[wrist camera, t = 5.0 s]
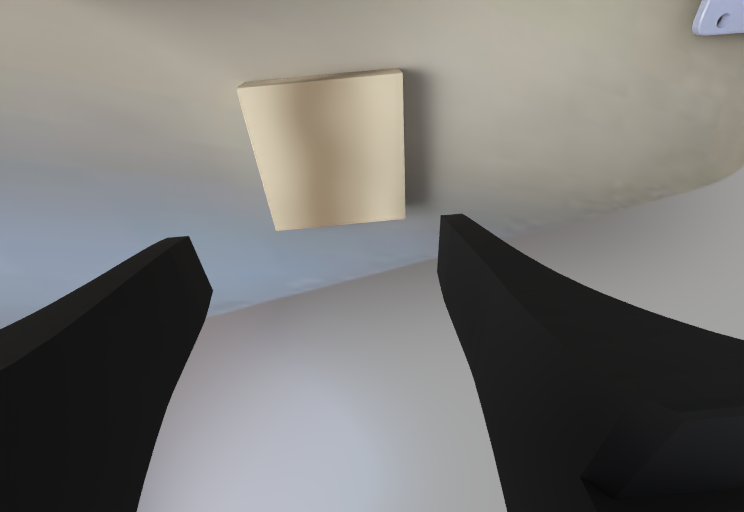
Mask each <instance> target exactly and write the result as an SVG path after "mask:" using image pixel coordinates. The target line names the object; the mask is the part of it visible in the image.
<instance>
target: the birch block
mask: <svg viewBox="0 0 744 512" xmlns="http://www.w3.org/2000/svg"><path fill="white" fill-rule="evenodd" d="M236 90H237V94H238V97H239V101H240V104H241V108H242V112H243V115H244V119H245V122H246V126H247V129H248V133H249V136H250V140H251V144H252V147H253V151H254V154H255V158H256V161H257V165H258V169H259V172H260V176H261V179H262V183H263V186H264V190H265V193H266V197H267V201H268V204H269V208H270V211H271V215H272V218H273V222H274V225H275V229H276V231H280V230H291V229H301V228H312V227H322V226H333V225H344V224H354V223H365V222H375V221H386V220H397V219H405V170H404V118H403V73H402V72H401V71H400V69H399V68H393V69H382V70H371V71H360V72H349V73H339V74H328V75H317V76H306V77H295V78H284V79H274V80H263V81H252V82H245V83H243V84H242V85H240V86H239V87H237V88H236Z"/></svg>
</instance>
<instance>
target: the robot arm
mask: <svg viewBox="0 0 744 512" xmlns="http://www.w3.org/2000/svg"><path fill="white" fill-rule="evenodd" d="M721 16H722V20H721V22H720V23H719V24H718V25H717V21H718V19H719V18H720V17H721ZM692 32H693V33H694V34H695V35H702V36H707V35H720V34H733V33H744V0H702V2H701V4H700V7H699V9H698V11H697V14H696V16H695V19H694V21H693V25H692ZM437 273H438V278H439V282H440V286H441V290H442V294H443V298H444V302H445V304H446V307H447V310H448V312H449V315H450V318H451V320H452V323H453V325H454V328H455V330H456V333H457V335H458V338H459V341H460V343H461V346H462V348H463V351H464V353H465V356H466V358H467V361H468V364H469V366H470V369H471V372H472V375H473V378H474V381H475V385H476V388H477V392H478V395H479V399H480V403H481V407H482V410H483V414H484V418H485V422H486V426H487V429H488V433H489V437H490V441H491V445H492V448H493V452H494V457H495V461H496V465H497V470H498V474H499V478H500V482H501V486H502V491H503V495H504V499H505V504H506V508H507V512H744V340H741V339H737V338H733V337H730V336H726V335H722V334H719V333H715V332H712V331H708V330H705V329H702V328H699V327H695V326H692V325H689V324H686V323H683V322H680V321H677V320H674V319H671V318H667V317H664V316H662V315H659V314H656V313H653V312H650V311H647V310H644V309H642V308H639V307H636V306H634V305H631V304H628V303H626V302H623V301H621V300H618V299H616V298H613V297H611V296H608V295H605V294H603V293H600V292H598V291H596V290H593V289H591V288H589V287H587V286H584V285H582V284H580V283H578V282H576V281H574V280H572V279H570V278H568V277H565V276H563V275H561V274H559V273H557V272H555V271H553V270H552V269H549V268H548V267H546V266H544V265H542V264H540V263H539V262H537V261H535V260H534V259H532V258H530V257H528V256H527V255H524V254H523V253H522V252H520V251H518V250H517V249H515V248H513V247H512V246H510V245H509V244H507V243H505V242H504V241H503V240H501V239H500V238H498V237H497V236H495V235H494V234H492V233H491V232H489V231H488V230H486V229H485V228H483V227H482V226H480V225H479V224H477V223H476V222H474V221H473V220H471V219H470V218H468V217H467V216H465V215H463V214H453V215H441V220H440V236H439V251H438V268H437ZM212 292H213V290H212V287H211V285H210V283H209V281H208V278H207V276H206V274H205V272H204V269H203V267H202V265H201V263H200V260H199V258H198V256H197V254H196V251H195V249H194V247H193V245H192V242H191V240H190V238H189V236H184V237H172V238H166V239H164V240H161V241H159V242H157V243H155V244H153V245H151V246H150V247H148V248H146V249H144V250H142V251H141V252H139V253H137V254H136V255H134V256H132V257H131V258H129V259H127V260H126V261H124V262H122V263H121V264H119V265H117V266H116V267H114V268H112V269H111V270H109V271H107V272H106V273H104V274H102V275H101V276H99V277H97V278H96V279H94V280H92V281H90V282H89V283H87V284H85V285H83V286H82V287H80V288H78V289H76V290H75V291H73V292H71V293H69V294H67V295H66V296H64V297H62V298H60V299H59V300H57V301H55V302H53V303H52V304H50V305H48V306H46V307H44V308H42V309H40V310H39V311H37V312H35V313H33V314H31V315H29V316H27V317H25V318H23V319H21V320H19V321H17V322H15V323H13V324H11V325H9V326H6V327H4V328H2V329H0V512H136V511H137V508H138V503H139V499H140V496H141V492H142V488H143V484H144V480H145V477H146V473H147V470H148V467H149V463H150V460H151V456H152V453H153V449H154V446H155V442H156V439H157V436H158V433H159V430H160V427H161V424H162V421H163V418H164V415H165V412H166V409H167V406H168V403H169V401H170V398H171V396H172V393H173V391H174V389H175V386H176V384H177V382H178V380H179V378H180V375H181V373H182V371H183V369H184V366H185V364H186V362H187V360H188V358H189V356H190V353H191V351H192V349H193V347H194V344H195V342H196V340H197V337H198V335H199V333H200V331H201V329H202V326H203V324H204V321H205V318H206V315H207V312H208V308H209V304H210V300H211V296H212Z"/></svg>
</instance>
